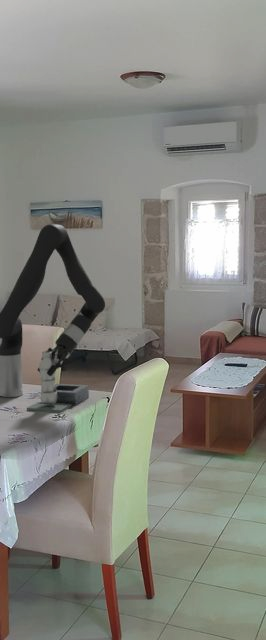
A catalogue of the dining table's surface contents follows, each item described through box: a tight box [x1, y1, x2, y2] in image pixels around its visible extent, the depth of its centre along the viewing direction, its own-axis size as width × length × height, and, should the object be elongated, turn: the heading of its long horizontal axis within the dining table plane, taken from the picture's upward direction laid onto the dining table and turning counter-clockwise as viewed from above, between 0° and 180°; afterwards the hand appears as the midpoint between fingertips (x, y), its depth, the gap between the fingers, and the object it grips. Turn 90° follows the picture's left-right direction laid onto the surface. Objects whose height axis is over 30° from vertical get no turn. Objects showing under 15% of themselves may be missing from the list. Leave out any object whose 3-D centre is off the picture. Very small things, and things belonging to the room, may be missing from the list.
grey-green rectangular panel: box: [26, 401, 72, 414], centre depth 244 cm, size 14×9×1 cm, turn 71°
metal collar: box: [55, 383, 90, 406], centre depth 256 cm, size 14×13×5 cm
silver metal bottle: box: [38, 350, 58, 405], centre depth 243 cm, size 6×7×20 cm
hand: (44, 373), depth 242 cm, fingers open, 6 cm apart
